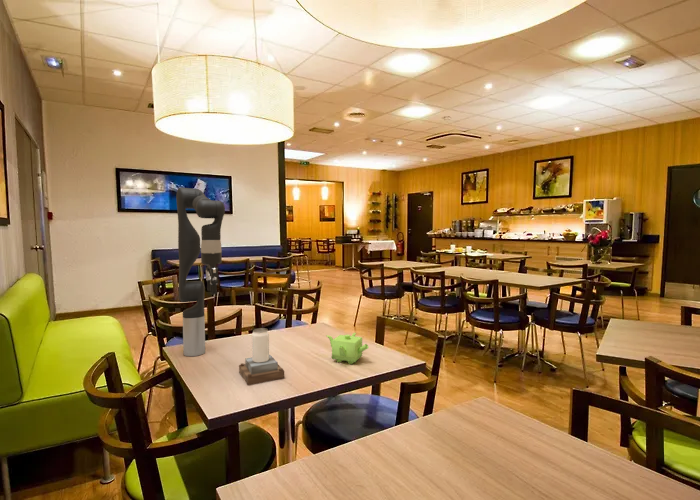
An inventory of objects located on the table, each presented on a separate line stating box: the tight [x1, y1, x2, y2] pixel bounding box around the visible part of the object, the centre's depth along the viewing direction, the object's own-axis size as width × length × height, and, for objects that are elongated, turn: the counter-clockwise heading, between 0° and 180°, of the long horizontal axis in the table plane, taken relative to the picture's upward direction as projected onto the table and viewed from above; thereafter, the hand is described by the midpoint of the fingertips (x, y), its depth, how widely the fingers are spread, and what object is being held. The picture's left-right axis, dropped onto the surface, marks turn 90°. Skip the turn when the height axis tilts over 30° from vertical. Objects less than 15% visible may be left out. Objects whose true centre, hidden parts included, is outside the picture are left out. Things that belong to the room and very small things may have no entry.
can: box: [251, 327, 270, 363], centre depth 149 cm, size 6×6×12 cm
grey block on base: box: [238, 354, 285, 386], centre depth 150 cm, size 14×14×6 cm
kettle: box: [325, 332, 369, 365], centre depth 167 cm, size 15×14×11 cm
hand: (212, 292), depth 151 cm, fingers open, 8 cm apart
